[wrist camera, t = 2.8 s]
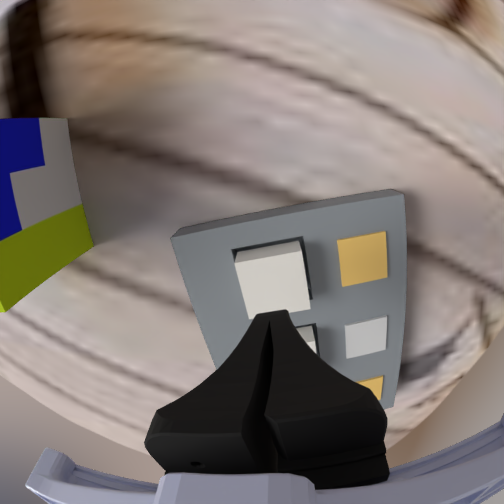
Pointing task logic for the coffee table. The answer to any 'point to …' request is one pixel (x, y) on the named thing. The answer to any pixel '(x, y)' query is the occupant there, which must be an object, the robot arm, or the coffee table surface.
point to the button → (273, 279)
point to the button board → (313, 280)
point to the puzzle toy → (37, 205)
